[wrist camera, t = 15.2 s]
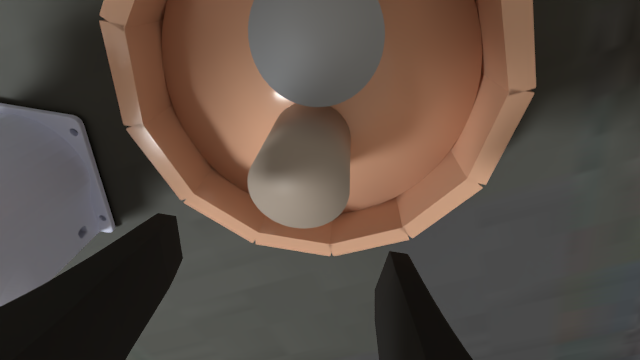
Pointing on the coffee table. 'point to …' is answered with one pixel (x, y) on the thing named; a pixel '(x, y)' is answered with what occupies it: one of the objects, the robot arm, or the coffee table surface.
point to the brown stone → (303, 168)
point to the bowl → (359, 111)
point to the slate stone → (316, 47)
